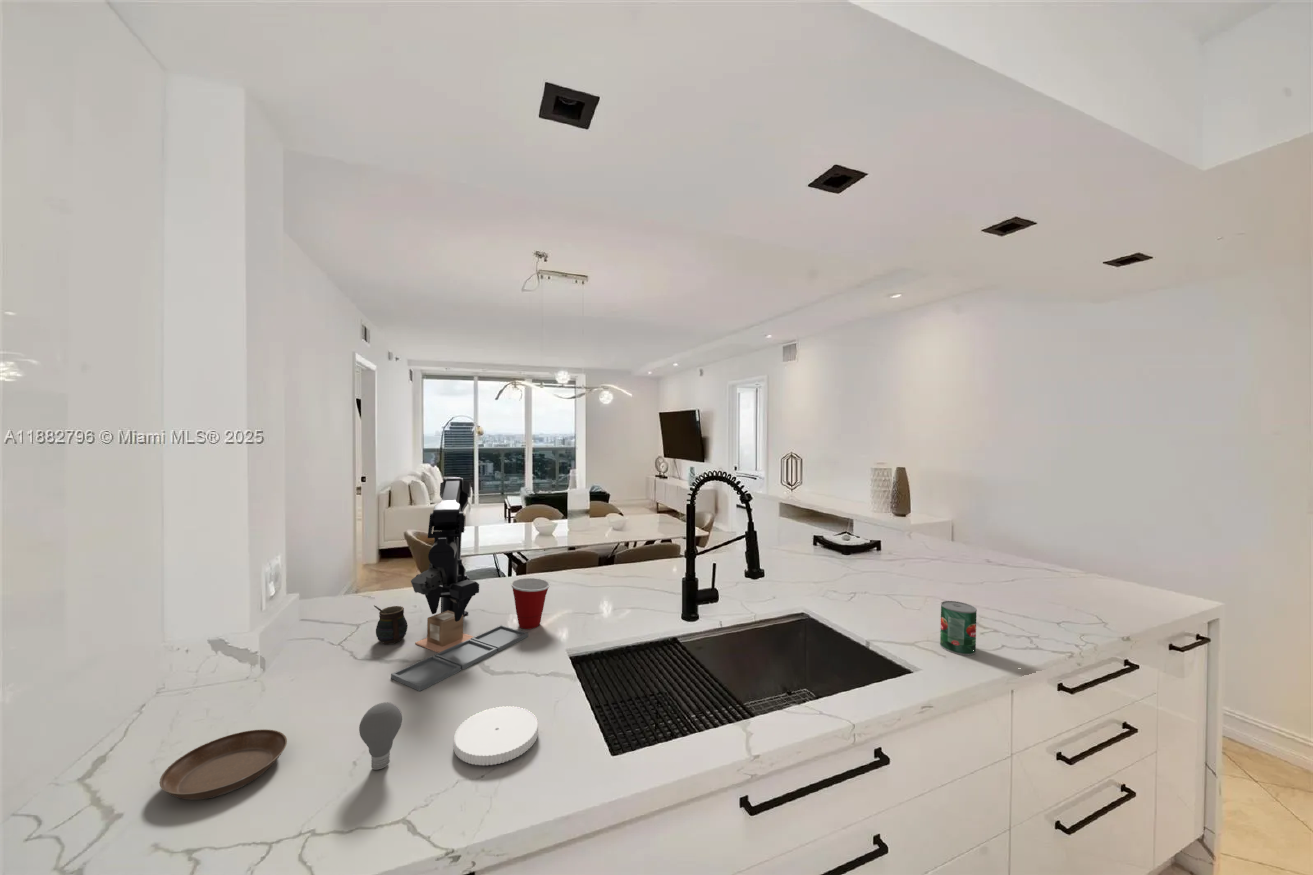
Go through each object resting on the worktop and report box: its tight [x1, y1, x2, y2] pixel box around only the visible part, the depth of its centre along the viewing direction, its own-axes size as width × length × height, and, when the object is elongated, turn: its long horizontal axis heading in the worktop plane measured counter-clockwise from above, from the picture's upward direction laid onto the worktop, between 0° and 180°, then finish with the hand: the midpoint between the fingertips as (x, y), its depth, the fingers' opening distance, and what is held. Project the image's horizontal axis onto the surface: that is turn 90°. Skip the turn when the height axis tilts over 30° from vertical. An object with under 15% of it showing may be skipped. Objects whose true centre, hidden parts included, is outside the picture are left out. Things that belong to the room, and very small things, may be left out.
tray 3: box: [471, 624, 529, 652], centre depth 124 cm, size 10×10×1 cm
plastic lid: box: [453, 705, 539, 766], centre depth 84 cm, size 14×14×2 cm
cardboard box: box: [426, 610, 464, 647], centre depth 123 cm, size 6×6×6 cm
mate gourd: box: [373, 605, 409, 645], centre depth 122 cm, size 7×8×10 cm
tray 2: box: [433, 639, 498, 671], centre depth 115 cm, size 10×10×1 cm
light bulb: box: [358, 701, 403, 770], centre depth 77 cm, size 6×6×10 cm
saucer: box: [159, 728, 288, 801], centre depth 75 cm, size 15×15×3 cm
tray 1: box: [390, 655, 462, 692], centre depth 106 cm, size 10×10×1 cm
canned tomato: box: [939, 600, 978, 656], centre depth 124 cm, size 8×8×11 cm
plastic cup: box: [510, 577, 552, 630], centre depth 134 cm, size 11×11×12 cm
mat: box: [414, 632, 474, 653], centre depth 123 cm, size 10×10×1 cm
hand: (445, 617), depth 122 cm, fingers open, 9 cm apart
